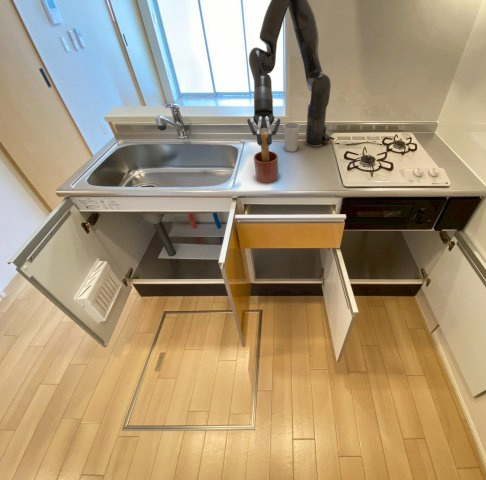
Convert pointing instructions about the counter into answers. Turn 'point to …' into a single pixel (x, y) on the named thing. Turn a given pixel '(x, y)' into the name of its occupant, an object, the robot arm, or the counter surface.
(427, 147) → the counter surface
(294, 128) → the cup
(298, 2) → the robot arm
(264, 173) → the crock
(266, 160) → the utensil
